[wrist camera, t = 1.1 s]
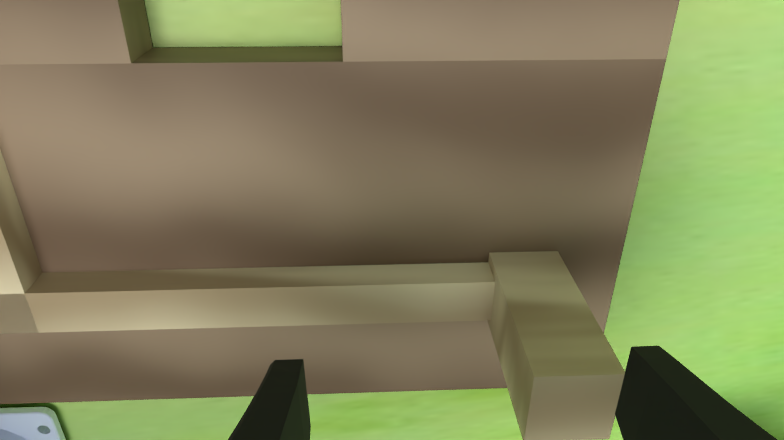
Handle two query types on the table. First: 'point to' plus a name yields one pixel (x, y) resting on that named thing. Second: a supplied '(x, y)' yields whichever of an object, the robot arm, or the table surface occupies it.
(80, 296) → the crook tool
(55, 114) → the deck
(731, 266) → the table surface
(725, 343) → the table surface
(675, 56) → the table surface
